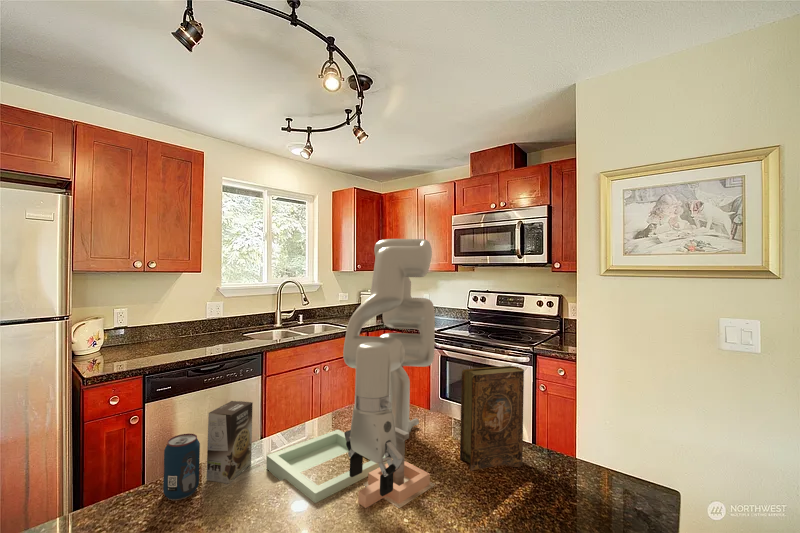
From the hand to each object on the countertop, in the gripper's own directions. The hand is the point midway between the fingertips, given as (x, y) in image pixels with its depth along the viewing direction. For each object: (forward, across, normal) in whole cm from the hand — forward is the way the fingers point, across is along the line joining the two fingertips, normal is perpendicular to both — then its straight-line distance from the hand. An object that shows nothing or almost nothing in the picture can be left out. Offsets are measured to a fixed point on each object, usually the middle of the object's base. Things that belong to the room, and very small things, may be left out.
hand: (370, 483), depth 78 cm
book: (+5, -9, -35) cm, 36 cm away
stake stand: (+5, 0, -9) cm, 11 cm away
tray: (+5, +19, -3) cm, 20 cm away
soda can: (+6, +34, +26) cm, 43 cm away
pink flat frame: (+4, +1, -6) cm, 7 cm away
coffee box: (+6, +35, +15) cm, 39 cm away
